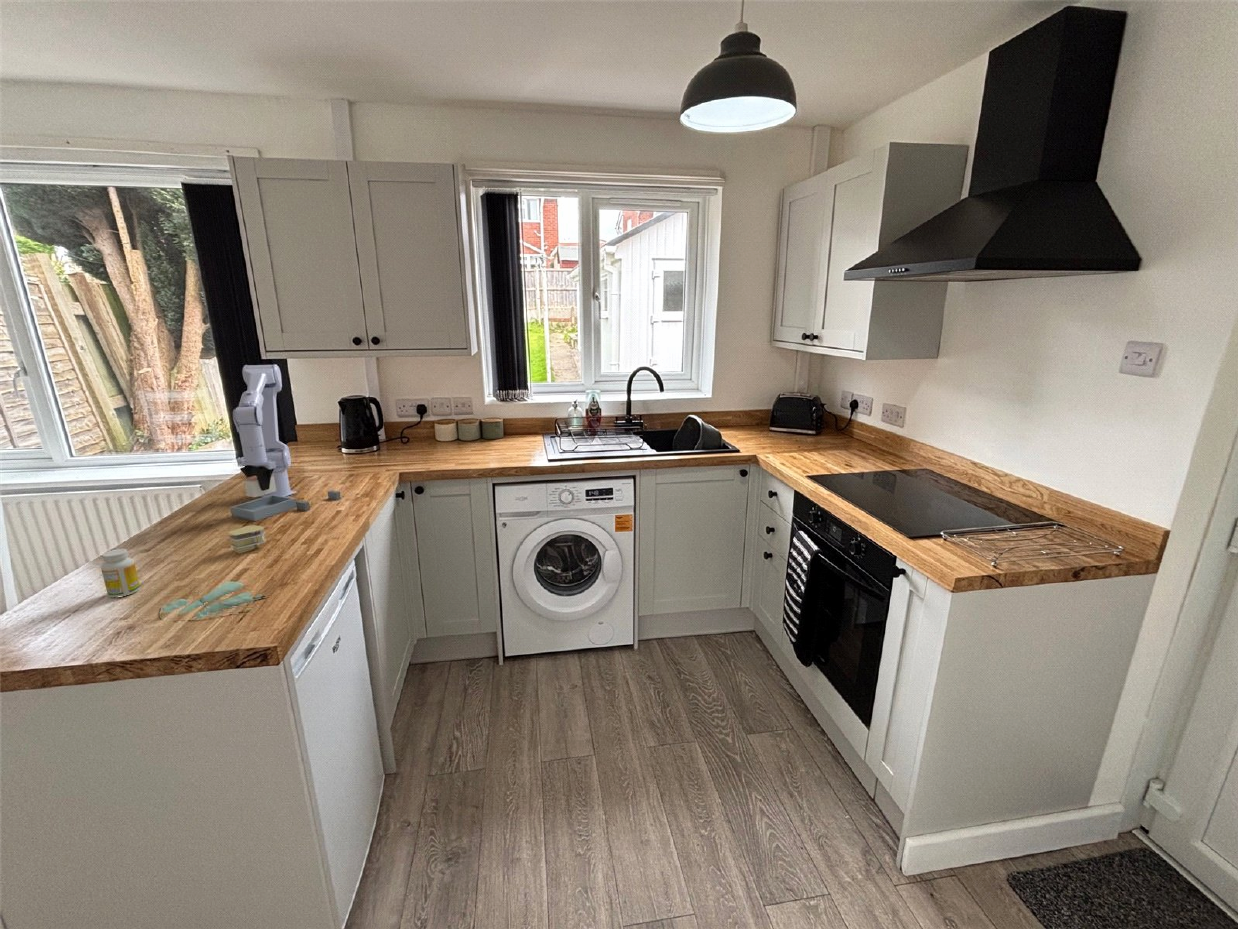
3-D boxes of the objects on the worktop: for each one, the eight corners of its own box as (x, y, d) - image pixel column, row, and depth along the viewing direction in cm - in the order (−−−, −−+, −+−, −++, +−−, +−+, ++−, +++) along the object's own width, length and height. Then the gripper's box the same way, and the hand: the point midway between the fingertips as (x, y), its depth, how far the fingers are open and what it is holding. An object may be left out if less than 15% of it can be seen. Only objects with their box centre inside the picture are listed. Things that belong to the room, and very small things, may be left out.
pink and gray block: (246, 496, 166) (243, 478, 164) (268, 489, 172) (265, 472, 170) (254, 497, 164) (251, 480, 163) (276, 490, 170) (273, 474, 169)
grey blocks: (296, 509, 172) (295, 501, 171) (332, 497, 183) (331, 490, 183) (305, 510, 170) (304, 503, 170) (340, 498, 182) (339, 491, 181)
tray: (231, 516, 166) (230, 507, 165) (274, 503, 178) (273, 494, 177) (255, 521, 162) (253, 511, 161) (297, 507, 174) (295, 498, 173)
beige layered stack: (237, 560, 136) (233, 539, 135) (221, 552, 141) (216, 532, 139) (279, 546, 144) (275, 527, 143) (262, 539, 149) (258, 520, 148)
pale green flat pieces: (142, 613, 112) (140, 602, 112) (256, 572, 130) (254, 563, 130) (186, 643, 102) (183, 631, 101) (303, 594, 120) (301, 584, 119)
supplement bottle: (110, 601, 116) (99, 560, 113) (106, 593, 119) (95, 553, 117) (143, 592, 120) (133, 551, 117) (138, 584, 123) (128, 545, 121)
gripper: (224, 446, 163) (232, 489, 167) (256, 451, 158) (264, 495, 161) (247, 442, 170) (255, 483, 173) (279, 446, 164) (286, 488, 168)
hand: (261, 489), depth 168 cm, fingers closed on pink and gray block, 3 cm apart
